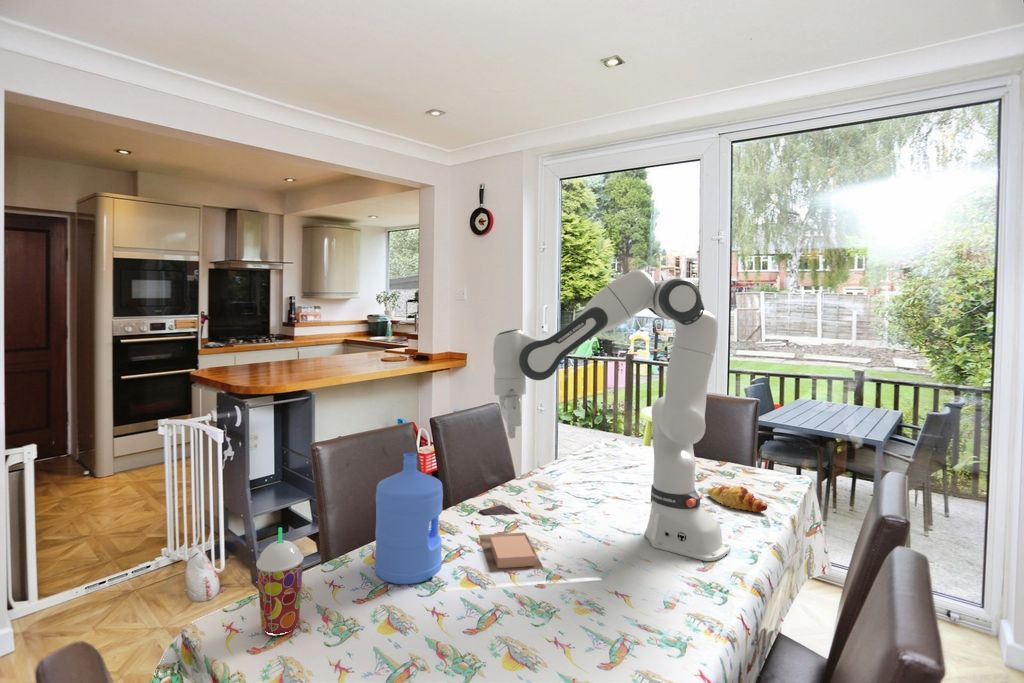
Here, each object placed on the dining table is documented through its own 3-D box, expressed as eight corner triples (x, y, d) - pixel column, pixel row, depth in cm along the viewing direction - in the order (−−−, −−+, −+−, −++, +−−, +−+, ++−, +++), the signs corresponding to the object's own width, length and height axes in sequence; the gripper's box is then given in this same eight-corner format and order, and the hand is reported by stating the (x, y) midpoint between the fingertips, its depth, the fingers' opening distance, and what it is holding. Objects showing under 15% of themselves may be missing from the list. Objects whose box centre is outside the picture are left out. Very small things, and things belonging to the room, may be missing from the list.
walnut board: (478, 537, 152) (478, 534, 152) (525, 535, 154) (525, 532, 154) (490, 575, 131) (490, 571, 131) (543, 571, 133) (543, 568, 133)
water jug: (384, 592, 122) (386, 467, 120) (368, 561, 136) (369, 449, 134) (451, 577, 129) (453, 459, 127) (429, 550, 143) (430, 443, 141)
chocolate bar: (502, 504, 176) (538, 523, 161) (502, 507, 176) (538, 527, 161) (478, 510, 170) (513, 530, 156) (478, 513, 170) (513, 533, 156)
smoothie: (266, 616, 112) (265, 519, 110) (308, 615, 112) (308, 519, 111) (249, 642, 103) (249, 537, 102) (296, 641, 104) (296, 536, 103)
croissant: (702, 507, 189) (696, 488, 187) (717, 488, 194) (711, 470, 192) (762, 526, 172) (756, 506, 170) (777, 506, 178) (772, 486, 175)
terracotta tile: (490, 537, 144) (497, 558, 132) (524, 535, 146) (534, 556, 134) (490, 547, 144) (497, 569, 132) (524, 545, 146) (534, 566, 134)
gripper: (526, 391, 145) (527, 444, 145) (517, 383, 165) (518, 430, 166) (502, 392, 144) (503, 445, 145) (495, 384, 165) (497, 431, 165)
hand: (511, 437), depth 155 cm, fingers closed
